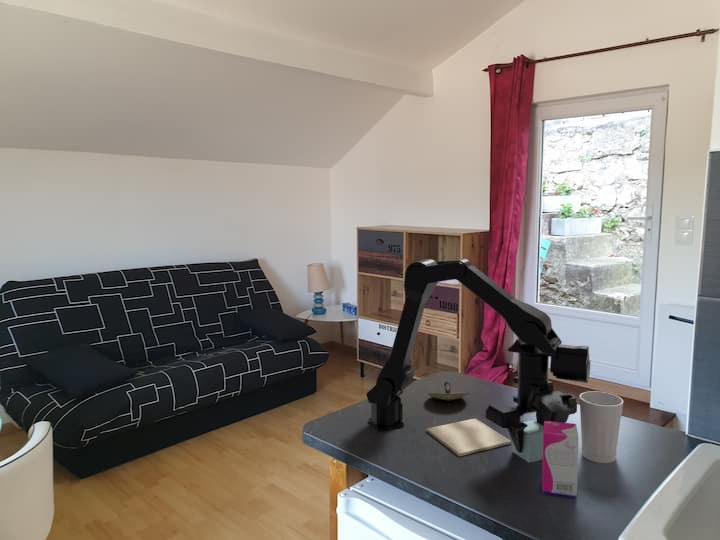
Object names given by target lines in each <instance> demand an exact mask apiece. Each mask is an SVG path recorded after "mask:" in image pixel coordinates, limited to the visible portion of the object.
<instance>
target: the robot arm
mask: <svg viewBox="0 0 720 540" xmlns="http://www.w3.org/2000/svg"><path fill="white" fill-rule="evenodd" d="M403 279H404V281H403V290H404V296H405V298H404V303H403V307H402V311H401V315H400V319H399V322H398V326H397V330H396V331H395V332H396V333H395V336H394V341H393V345H392V348H391V352H390V354H389V357H388V358H387V360H386V362H384V365H383V366H382V368H381V370H380V372H379V374H378V376H377V378H376V380H375V385H374V386H373V387H372V388H371V389H370V390H368V392H366V395H365V396H366V398H367V401H368V403H370V407H371V408H370V409H371V410H370V412H371V416H370V417H369V418H368V422H370V424H371V425H372V426H374V427H375V428H376V429H377V430H378V431H386V430H390V429H396V428H401V427H404V426H405V422H403V420H404V410H403V409H404V407H403V406H404V404H403V403H402V397H400V396H401V395H402V394H404V390H406V389H407V388H408V387H409V386H411V384H413V383H414V376H415V373H416V371H417V366H413V365H412V362H411V357H412V353H413V349H414V345H415V343H416V338H417V336H418V333H419V328H420V325H421V321H422V318H423V315H424V310H425V306H426V304H427V302H428V299H429V298H430V297H431V295H432V294H433V292H434V291H435V289H436V287H437V285H438V283H440V282H445V281H446V282H447V281H452V280H453V281H454V280H456V281H458V282H459V283H460V284H462V285H463V286H464V287H465V288H466V289H468V290H469V291H470V292H471V293H473V294H474V295H475V296H476V297H477V298H479V299H480V300H482V301H483V302H484V303H486V305H488V306H489V307H490V308H491V309H493V310H494V311H495V312H497V313H498V314H499V315H500V316H501V317H502V318H503V319H504V321H505V323H506V324H507V326H508V328H509V329H510V330H511V331H512V333H514V335H515V336H516V337H517V339H516V340H515V341H514V343H512V344H510V346H509V347H508V348H507V351H508V352H509V353H516V354H518V356H517V357H518V359H517V361H518V362H517V376H513V383H514V384H516V385H517V394H516V395H514V396H513V397H512V402H514V403H516V404H517V405H515V406H511V405H509V404H508V403H505V402H504V401H502V402H497V403H493V404H489V405H488V406H486V407H485V408H486V409H485V419H486V420H489V421H490V422H492V423H493V424H495V425H496V426H498V427H500V428H502V429H506V430H507V431H508V435H509V437H510V438H511V439H510V440H511V442H512V444H513V443H514V446H515V448H516V450H517V451H518V452H519V453H521V452H522V447H523V430H524V429H525V428H526V427H527V426H528V425H527V424H525V423H523V422H524V416H525V415H527V416H528V415H531V414H535V418H536V422H537V423H539V424H541V425H543V426H544V421H552V422H562V423H568V419H569V417H570V416H571V415H574V414H576V413H577V412H578V402H577V396H575V395H574V394H573V393H572V392H571V393H565V392H564V393H563V392H561V391H559V390H556V391H555V389H554V384H553V382H552V381H550V380H549V371H550V373H552V376H553V377H555V379H557V380H563V381H571V382H576V383H584V384H588V383H589V380H590V374H591V360H590V351H589V350H590V347H589V346H587V345H569V344H562V343H563V342H562V340H561V339H560V337H559V336H558V334H557V333H556V331H555V330H554V328H553V327H552V319H551V317H550V316H549V315H548V314H547V313H546V312H544V311H543V310H541V309H538V308H537V307H535V306H533V305H531V304H530V303H529V304H528V303H526V302H523V301H521V300H519V299H517V298H516V297H514V296H513V295H512V294H510V293H509V292H508V291H507V290H505V289H504V288H503V287H502V286H500V285H499V284H498V283H496V282H495V281H494V280H492V279H491V278H490V277H489V276H488V275H486V274H485V273H484V272H482V271H480V269H478V267H476V266H474V265H473V264H472V262H471V261H470V260H469V259H466V258H460V259H457V260H445V261H438V262H437V261H436V260H434V259H430V258H426V259H425V258H424V259H421V260H418V261H415V262H412V263H410V264H409V265H408V266H406V269H405V271H404V278H403ZM549 359H550V367H549ZM549 368H550V370H549Z"/></svg>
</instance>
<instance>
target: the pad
mask: <svg viewBox="0 0 720 540" xmlns="http://www.w3.org/2000/svg"><path fill="white" fill-rule="evenodd" d="M426 432H427V433H428V434H430V435H431V436H432V437H433V438H435V439H436V440H437V441H439V442H440V443H441V444H443V445H444V446H445V447H446V448H448V449H449V450H450V451H451V452H453V453H454V454H455V455H457V456H458V457H463V456H467V455H471V454H475V453H478V452H479V453H480V452H482V451H487V450H491V449H495V448H499V447H503V446H507V445H512V440H511V439H509V438H507V437H506V436H504V435H502V434H501V433H499V432H498V431H496V430H494V429H492V427H490V426H488V425H487V424H485V423H484V422H482V421H480V420H478V419H477V418H476V417H475V418H471V419H470V418H469V419H465V420H462V421H456V422H451V423H446V424H442V425H437V426H432V427H428V428H426Z"/></svg>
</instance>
